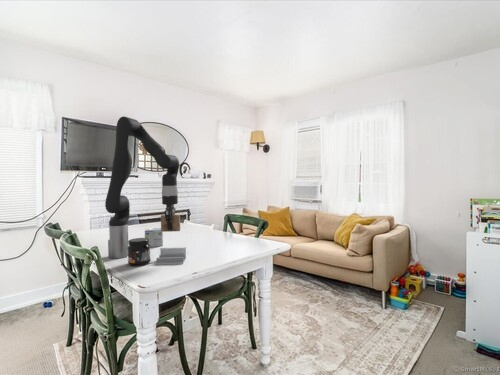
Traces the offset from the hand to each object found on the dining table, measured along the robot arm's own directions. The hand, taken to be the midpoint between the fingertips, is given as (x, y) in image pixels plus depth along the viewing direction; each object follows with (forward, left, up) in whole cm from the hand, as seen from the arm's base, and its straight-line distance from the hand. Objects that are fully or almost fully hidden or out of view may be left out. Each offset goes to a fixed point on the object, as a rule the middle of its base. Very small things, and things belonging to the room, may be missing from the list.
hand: (170, 228), depth 138 cm
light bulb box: (-19, +36, -17) cm, 44 cm away
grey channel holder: (0, 0, -17) cm, 17 cm away
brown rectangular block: (0, 0, -1) cm, 1 cm away
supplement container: (-15, -1, -17) cm, 23 cm away
